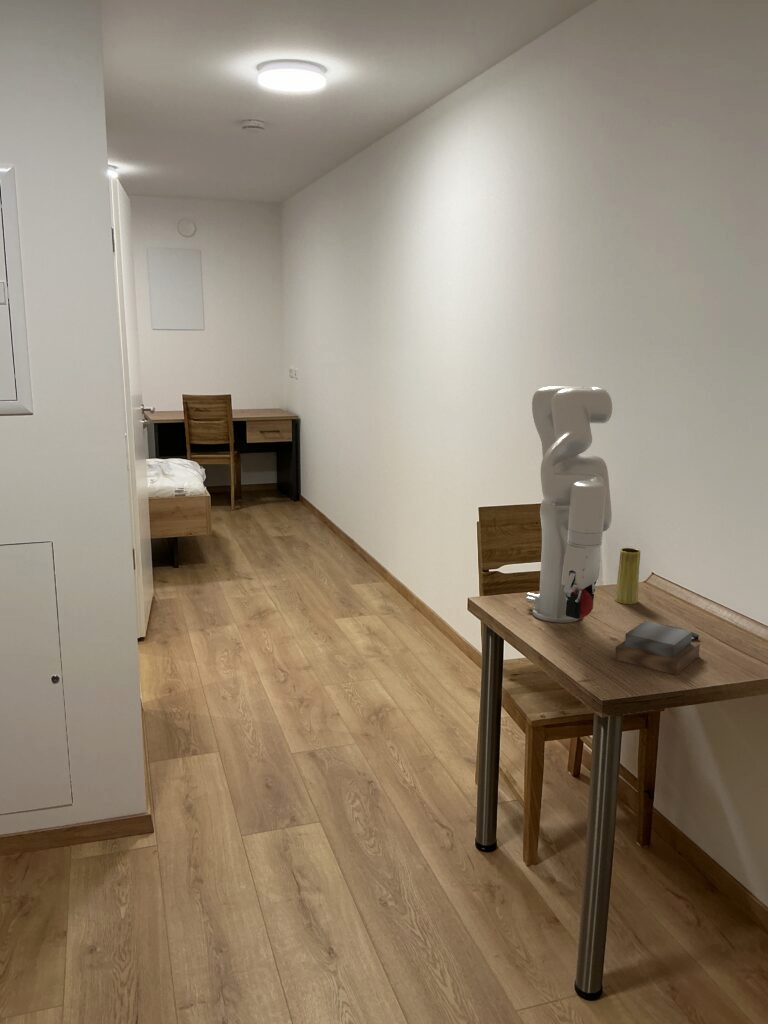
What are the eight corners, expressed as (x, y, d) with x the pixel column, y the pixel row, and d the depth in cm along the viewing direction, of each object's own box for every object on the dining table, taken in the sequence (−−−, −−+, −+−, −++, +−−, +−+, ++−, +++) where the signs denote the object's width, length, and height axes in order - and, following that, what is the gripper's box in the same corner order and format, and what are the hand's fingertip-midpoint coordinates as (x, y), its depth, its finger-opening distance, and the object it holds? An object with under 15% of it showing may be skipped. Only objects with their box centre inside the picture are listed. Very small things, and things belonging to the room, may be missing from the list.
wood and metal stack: (614, 659, 196) (616, 633, 194) (639, 642, 206) (641, 617, 205) (676, 675, 187) (678, 648, 186) (698, 656, 198) (701, 631, 197)
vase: (642, 603, 235) (646, 552, 232) (621, 605, 233) (625, 553, 230) (631, 596, 241) (634, 546, 237) (610, 598, 239) (614, 547, 236)
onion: (586, 613, 202) (589, 580, 199) (595, 623, 196) (598, 589, 194) (562, 614, 201) (564, 581, 199) (570, 624, 195) (573, 590, 193)
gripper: (586, 525, 202) (580, 598, 207) (551, 542, 189) (546, 620, 194) (617, 531, 198) (610, 606, 202) (583, 549, 185) (577, 628, 189)
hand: (579, 612), depth 198 cm, fingers closed on onion, 5 cm apart
